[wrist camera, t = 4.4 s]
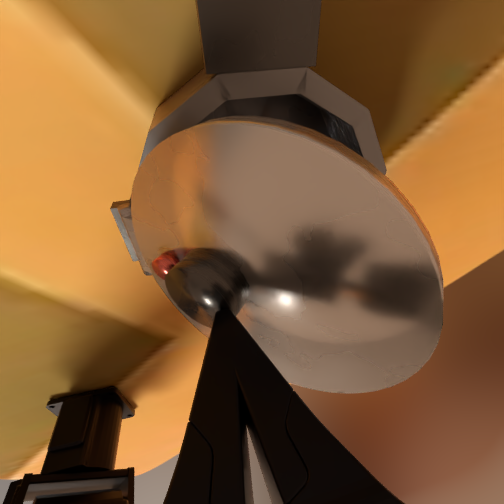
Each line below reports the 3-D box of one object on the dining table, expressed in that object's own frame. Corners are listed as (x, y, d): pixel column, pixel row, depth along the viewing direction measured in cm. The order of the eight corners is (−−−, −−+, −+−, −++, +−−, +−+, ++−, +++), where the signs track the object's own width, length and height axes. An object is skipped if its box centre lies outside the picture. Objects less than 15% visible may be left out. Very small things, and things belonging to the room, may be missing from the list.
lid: (169, 310, 16) (144, 337, 15) (90, 102, 9) (29, 116, 8) (381, 410, 11) (373, 463, 10) (557, 139, 4) (606, 193, 3)
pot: (324, 266, 23) (348, 305, 19) (169, 294, 21) (167, 341, 18) (373, -15, 12) (443, -33, 9) (63, -3, 10) (10, -19, 7)
